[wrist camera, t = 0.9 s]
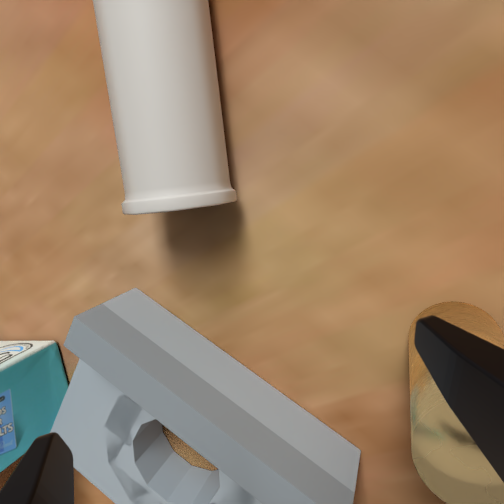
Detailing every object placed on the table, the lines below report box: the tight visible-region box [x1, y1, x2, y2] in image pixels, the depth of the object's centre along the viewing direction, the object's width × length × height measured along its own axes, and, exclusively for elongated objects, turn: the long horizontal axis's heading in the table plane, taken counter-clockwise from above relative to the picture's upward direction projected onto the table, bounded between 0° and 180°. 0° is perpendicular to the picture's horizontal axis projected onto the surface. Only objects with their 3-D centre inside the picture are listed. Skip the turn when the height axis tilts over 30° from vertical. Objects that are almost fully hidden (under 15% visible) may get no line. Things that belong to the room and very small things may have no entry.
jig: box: [50, 288, 361, 504], centre depth 23 cm, size 16×12×5 cm
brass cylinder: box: [408, 302, 504, 504], centre depth 15 cm, size 4×4×8 cm
